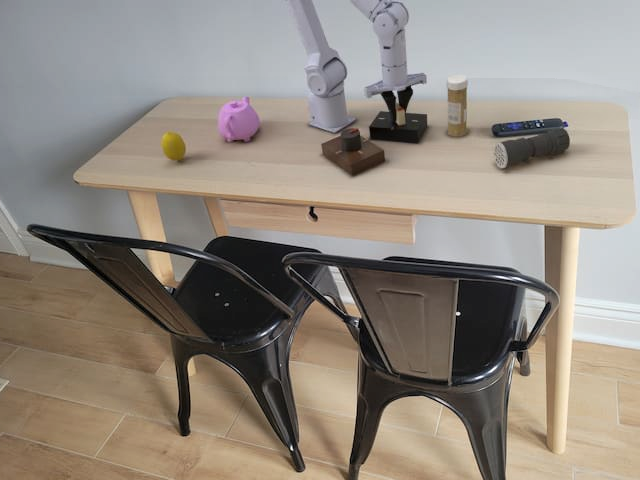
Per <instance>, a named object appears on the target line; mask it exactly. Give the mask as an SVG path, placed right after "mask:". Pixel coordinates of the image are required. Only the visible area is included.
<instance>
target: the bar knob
mask: <svg viewBox="0 0 640 480" xmlns="http://www.w3.org/2000/svg"><path fill="white" fill-rule="evenodd" d="M396 122H397V124H398V125H403V124H405V110H404V109H403V108H402V107H401V106H400V105H399V102H397V101H396Z"/></svg>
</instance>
